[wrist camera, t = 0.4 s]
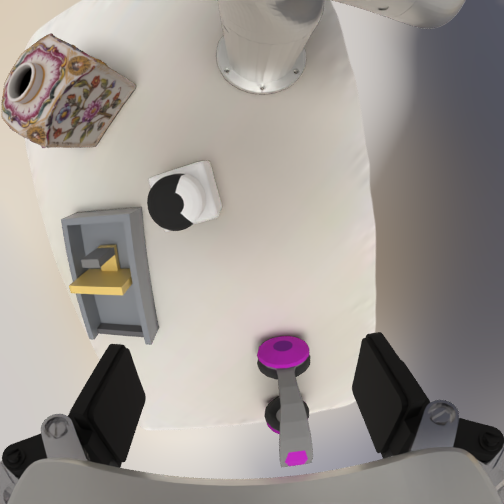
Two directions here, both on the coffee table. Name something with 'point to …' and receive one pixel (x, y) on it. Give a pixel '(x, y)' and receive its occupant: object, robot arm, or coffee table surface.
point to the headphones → (288, 397)
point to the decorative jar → (62, 95)
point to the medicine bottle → (184, 196)
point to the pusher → (102, 273)
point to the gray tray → (130, 257)
